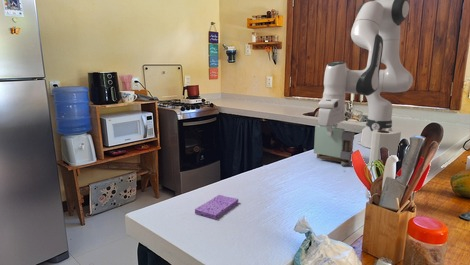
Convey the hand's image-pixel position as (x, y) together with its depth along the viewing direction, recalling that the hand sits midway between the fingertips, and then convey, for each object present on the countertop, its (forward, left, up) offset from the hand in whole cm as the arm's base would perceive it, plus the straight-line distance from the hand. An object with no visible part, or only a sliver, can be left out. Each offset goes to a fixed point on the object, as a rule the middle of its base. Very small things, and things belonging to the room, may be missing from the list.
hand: (331, 134), depth 132 cm
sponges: (+64, -8, -13) cm, 65 cm away
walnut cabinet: (-5, +1, -12) cm, 13 cm away
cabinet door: (0, +1, -9) cm, 9 cm away
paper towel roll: (+28, +26, -12) cm, 40 cm away
